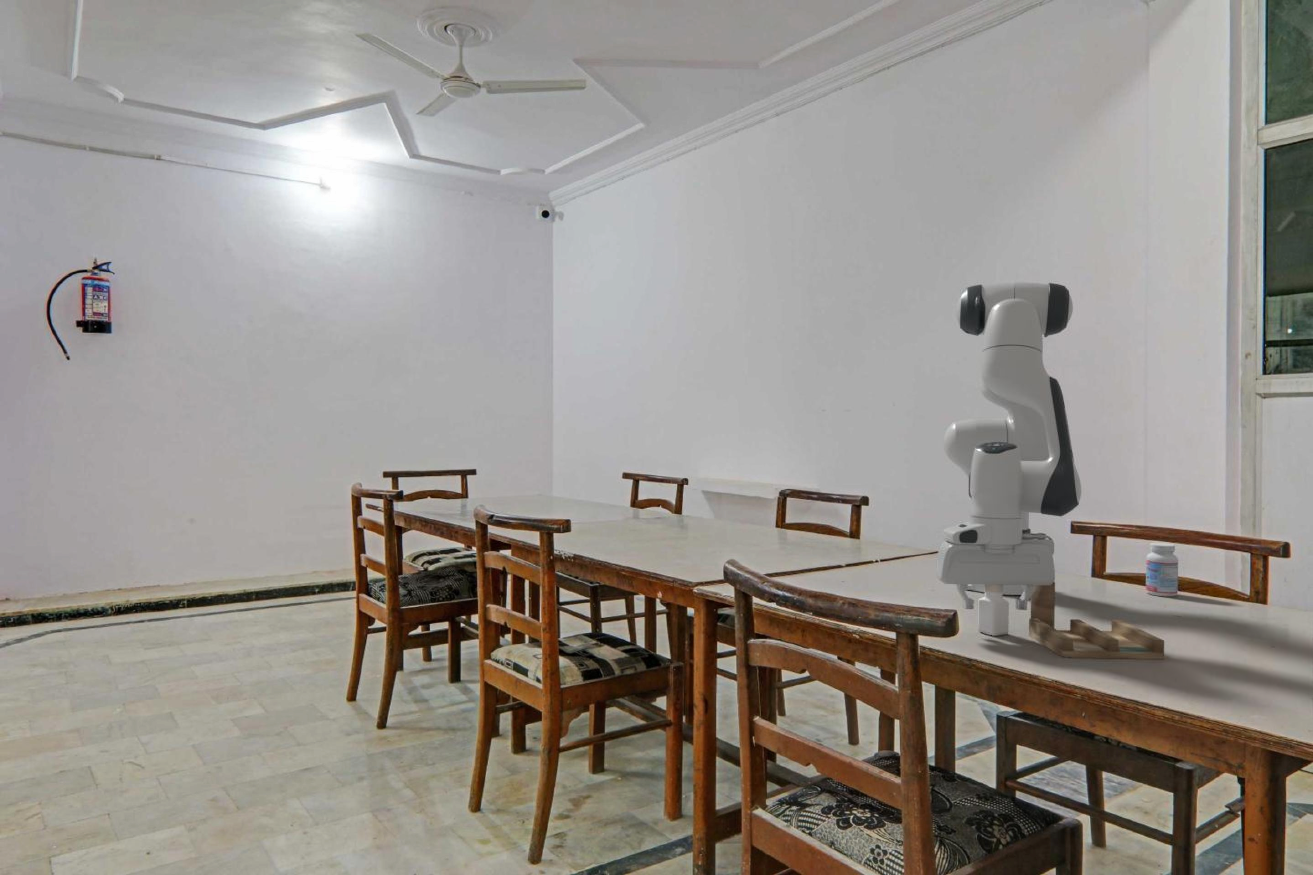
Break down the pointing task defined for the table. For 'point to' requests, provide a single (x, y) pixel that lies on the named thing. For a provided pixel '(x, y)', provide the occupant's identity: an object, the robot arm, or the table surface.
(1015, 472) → the robot arm
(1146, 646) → the rack
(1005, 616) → the pepper shaker
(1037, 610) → the dowel
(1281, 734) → the table surface
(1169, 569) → the pill bottle
